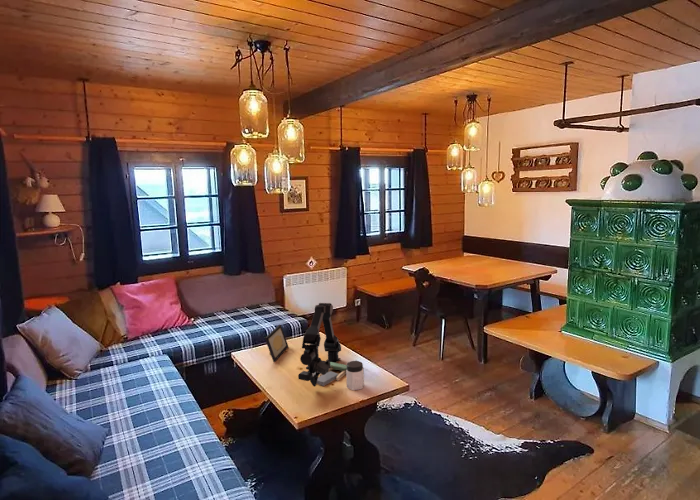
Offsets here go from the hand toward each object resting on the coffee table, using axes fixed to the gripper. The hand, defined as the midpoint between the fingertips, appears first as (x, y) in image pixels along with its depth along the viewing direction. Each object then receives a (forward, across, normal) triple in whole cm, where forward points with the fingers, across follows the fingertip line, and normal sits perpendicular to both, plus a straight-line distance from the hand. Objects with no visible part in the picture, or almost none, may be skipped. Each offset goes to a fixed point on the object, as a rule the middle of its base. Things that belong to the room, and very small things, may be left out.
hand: (314, 386), depth 218 cm
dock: (+2, +18, 0) cm, 19 cm away
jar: (+2, +12, -17) cm, 21 cm away
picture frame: (+2, +28, +48) cm, 56 cm away
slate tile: (+2, +11, 0) cm, 12 cm away
